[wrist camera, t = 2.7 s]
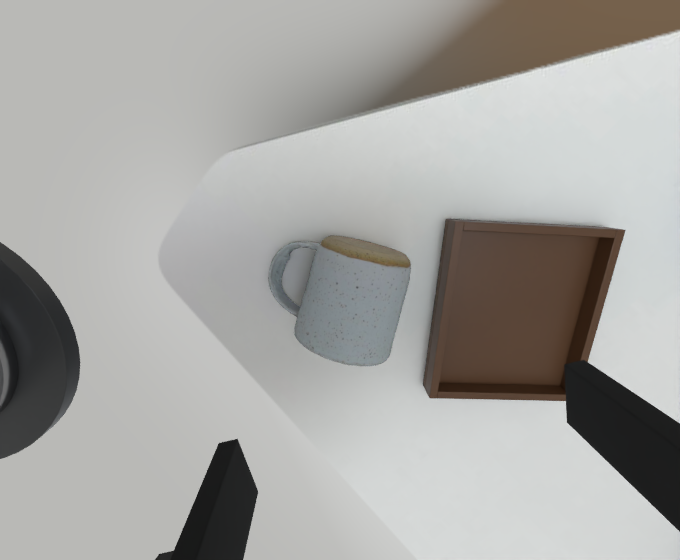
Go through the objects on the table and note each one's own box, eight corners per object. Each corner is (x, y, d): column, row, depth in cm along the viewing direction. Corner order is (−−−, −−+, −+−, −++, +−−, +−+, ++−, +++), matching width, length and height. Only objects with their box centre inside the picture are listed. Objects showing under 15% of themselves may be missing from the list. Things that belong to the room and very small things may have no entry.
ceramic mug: (404, 246, 28) (430, 266, 20) (380, 332, 30) (396, 379, 22) (281, 218, 27) (262, 228, 20) (265, 309, 29) (242, 350, 22)
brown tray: (422, 384, 32) (429, 398, 30) (445, 218, 27) (455, 221, 25) (560, 388, 32) (576, 401, 30) (604, 226, 28) (625, 229, 26)
